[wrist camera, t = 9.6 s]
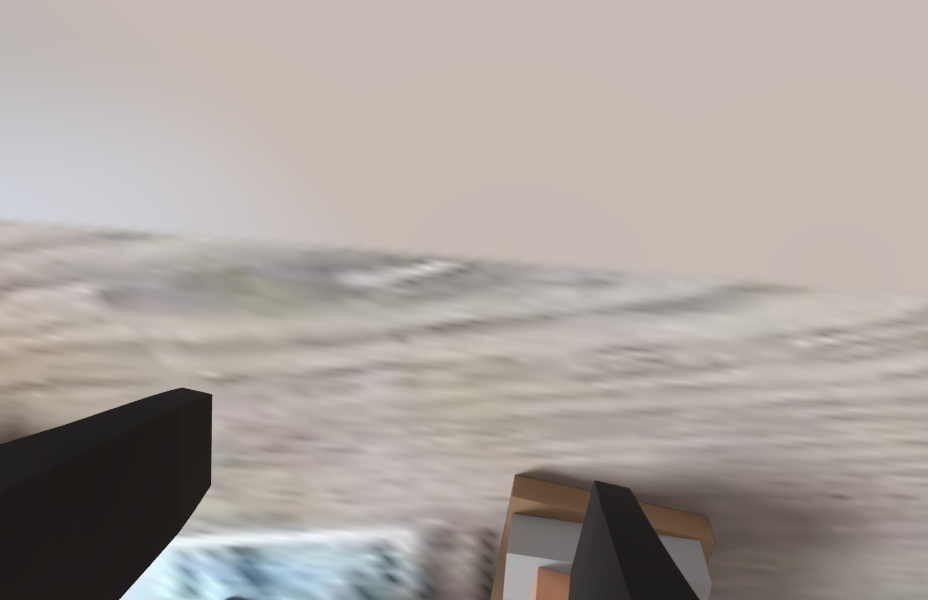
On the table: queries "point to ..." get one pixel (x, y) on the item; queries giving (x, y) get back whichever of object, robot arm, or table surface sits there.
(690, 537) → the walnut slab
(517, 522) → the slate slab
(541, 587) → the terracotta block
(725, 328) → the table surface
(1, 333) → the table surface
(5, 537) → the robot arm
